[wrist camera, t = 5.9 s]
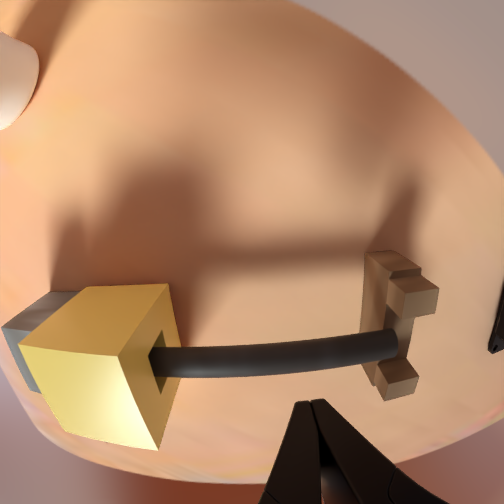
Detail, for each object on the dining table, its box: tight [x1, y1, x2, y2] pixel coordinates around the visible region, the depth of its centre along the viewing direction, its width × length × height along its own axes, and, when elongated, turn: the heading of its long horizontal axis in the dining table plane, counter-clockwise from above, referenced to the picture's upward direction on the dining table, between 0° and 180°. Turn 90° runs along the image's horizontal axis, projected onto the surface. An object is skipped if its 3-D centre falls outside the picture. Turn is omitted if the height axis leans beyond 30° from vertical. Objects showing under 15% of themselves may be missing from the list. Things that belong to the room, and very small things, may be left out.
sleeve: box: [18, 283, 181, 450], centre depth 10 cm, size 4×4×6 cm
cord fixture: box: [1, 250, 439, 401], centre depth 11 cm, size 18×6×4 cm, turn 94°
